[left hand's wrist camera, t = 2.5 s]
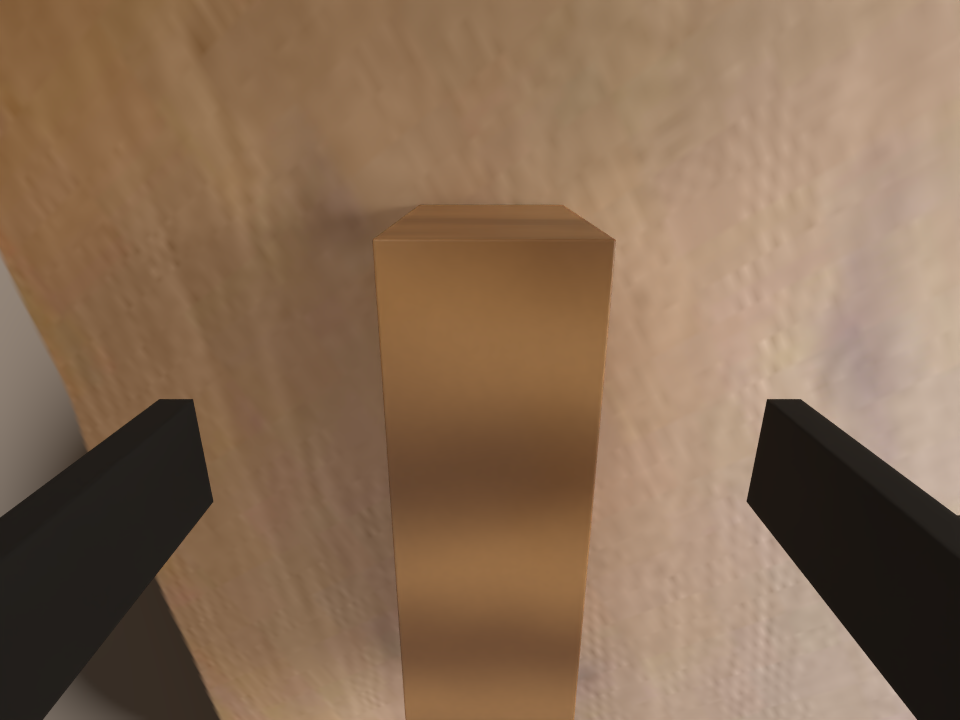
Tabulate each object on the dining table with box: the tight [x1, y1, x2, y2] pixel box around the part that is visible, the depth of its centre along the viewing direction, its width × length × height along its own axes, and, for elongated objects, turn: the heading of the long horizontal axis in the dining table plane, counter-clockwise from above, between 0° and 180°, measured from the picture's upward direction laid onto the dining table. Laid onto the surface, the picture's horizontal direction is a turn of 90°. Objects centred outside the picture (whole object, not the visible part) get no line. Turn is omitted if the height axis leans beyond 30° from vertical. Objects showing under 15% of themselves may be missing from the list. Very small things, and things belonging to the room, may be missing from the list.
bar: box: [373, 205, 616, 720], centre depth 22 cm, size 24×6×10 cm, turn 0°
